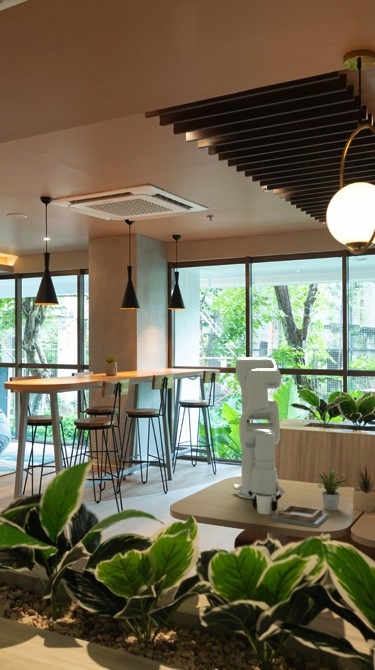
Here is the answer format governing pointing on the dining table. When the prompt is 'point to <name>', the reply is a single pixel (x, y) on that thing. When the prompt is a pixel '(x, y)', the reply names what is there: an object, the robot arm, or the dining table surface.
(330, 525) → the dining table surface
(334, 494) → the house plant
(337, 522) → the dining table surface
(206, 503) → the dining table surface
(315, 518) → the tray
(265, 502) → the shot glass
